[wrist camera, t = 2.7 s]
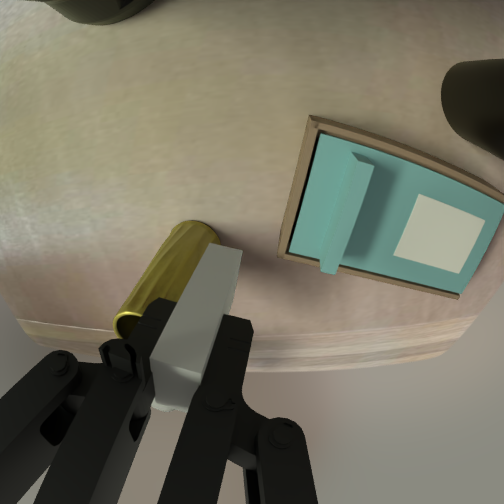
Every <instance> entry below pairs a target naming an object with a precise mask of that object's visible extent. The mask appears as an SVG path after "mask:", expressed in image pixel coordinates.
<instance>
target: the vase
mask: <svg viewBox="0 0 504 504" xmlns="http://www.w3.org/2000/svg"><path fill="white" fill-rule="evenodd" d="M209 243H213V244H217V245H221V243H220V240H219V238H218V236H217V235H216V233H215V232H214V231H213V230H212V229H211V228H210V227H208V226H207V225H205V224H203V223H201V222H197V221H185V222H182V223H180V224H178V225H177V226H175V227H174V228H173V229H172V231H171V233H170V236H169V237H168V238H167V239H166V240H165V242H164V243H163V244H162V246H161V247H160V249H159V250H158V252H157V254H156V255H155V257H154V258H153V260H152V261H151V263H150V264H149V266H148V267H147V269H146V271H145V272H144V274H143V275H142V277H141V278H140V280H139V281H138V283H137V284H136V286H135V287H134V289H133V290H132V292H131V294H130V295H129V297H128V298H127V300H126V301H125V302H124V304H123V305H122V307H121V308H120V310H119V311H118V313H117V314H116V316H115V317H114V320H113V329H114V332H115V334H116V335H117V337H118V338H120V339H126V340H127V339H128V338H129V336H130V334H131V333H132V331H133V329H134V328H135V326H136V324H138V321H139V319H140V318H141V316H142V315H143V313H144V311H145V309H146V308H147V306H148V305H149V304H150V303H151V302H153V301H154V300H156V299H157V298H158V297H160V298H164V299H167V300H171V301H174V302H178V301H179V299H180V297H181V295H182V293H183V291H184V289H185V287H186V286H187V284H188V282H189V280H190V278H191V276H192V274H193V272H194V271H195V269H196V267H197V265H198V263H199V261H200V259H201V258H202V256H203V254H204V252H205V250H206V248H207V247H208V245H209Z"/></svg>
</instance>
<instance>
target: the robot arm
mask: <svg viewBox="0 0 504 504" xmlns="http://www.w3.org/2000/svg"><path fill="white" fill-rule="evenodd" d="M27 1H40V2H45V3H46V4H47V5H49V6H50V7H52V8H53V9H55V10H56V11H58V12H59V13H60V14H62V15H63V16H65V17H66V18H68V19H69V20H71V21H74V22H77V23H82V24H89V25H107V24H112V23H116V22H119V21H121V20H124V19H126V18H128V17H130V16H132V15H134V14H136V13H138V12H139V11H141V10H142V9H144V8H145V7H147V6H148V5H149V4H151V3H152V2H153V1H154V0H27ZM242 253H243V250H238V249H234V248H230V247H226V246H221V245H217V244H213V243H209V245H208V247H207V248H206V250H205V252H204V254H203V256H202V258H201V259H200V261H199V263H198V265H197V267H196V269H195V271H194V272H193V274H192V276H191V278H190V280H189V282H188V284H187V286H186V287H185V289H184V291H183V293H182V295H181V297H180V299H179V301H178V302H174V301H171V300H167V299H164V298H160V297H158V298H157V299H156V300H154V301H153V302H151V303H150V304H149V305H148V306H147V308H146V309H145V311H144V313H143V315H142V316H141V318H140V319H139V321H138V324H136V326H135V328H134V329H133V331H132V333H131V334H130V336H129V338H128V339H127V340H126V339H120V338H119V339H111V340H109V341H107V342H105V343H103V344H102V345H101V346H100V347H99V348H98V349H99V352H100V355H101V359H102V362H103V363H86V362H78V361H77V359H76V358H75V356H74V355H73V354H72V353H70V352H68V351H64V350H57V351H53V352H51V353H50V354H48V355H47V356H46V357H44V358H43V359H42V360H41V361H40V362H39V363H38V364H37V365H36V366H34V367H33V368H32V369H31V370H30V371H29V372H28V373H27V374H26V375H25V376H24V377H23V378H22V379H21V380H19V381H18V382H17V383H16V384H15V385H14V386H13V387H12V388H11V389H10V390H9V391H8V392H7V393H6V394H5V395H4V396H3V397H2V398H1V399H0V504H17V502H18V501H19V500H20V499H21V498H22V497H23V496H24V494H25V493H26V492H27V491H28V490H29V489H30V487H31V486H32V485H33V484H34V483H35V482H36V481H37V479H38V478H39V477H40V476H41V475H42V474H43V473H44V471H45V470H46V469H47V468H48V467H49V466H50V467H49V469H48V472H47V474H46V476H45V478H44V480H43V483H42V485H41V487H40V489H39V492H38V494H37V496H36V499H35V501H34V503H33V504H117V502H118V499H119V497H120V494H121V491H122V488H123V486H124V483H125V481H126V478H127V475H128V473H129V470H130V467H131V465H132V462H133V460H134V457H135V454H136V452H137V449H138V447H139V444H140V441H141V439H142V436H143V434H144V431H145V429H146V426H147V424H148V421H149V419H150V415H151V409H150V407H151V404H152V402H153V400H154V397H155V402H156V403H157V404H160V405H163V406H166V407H169V408H173V409H176V410H179V411H182V412H186V413H187V415H186V418H185V421H184V424H183V427H182V430H181V433H180V436H179V439H178V442H177V445H176V448H175V451H174V454H173V457H172V460H171V463H170V466H169V469H168V472H167V475H166V478H165V481H164V485H163V488H162V491H161V494H160V497H159V500H158V503H157V504H217V500H218V496H219V492H220V488H221V483H222V479H223V474H224V471H225V466H226V462H227V459H228V460H230V461H232V462H234V463H235V464H237V465H239V466H241V467H243V476H244V487H245V497H246V504H318V501H317V495H316V490H315V485H314V480H313V475H312V470H311V465H310V460H309V455H308V450H307V445H306V440H305V435H304V433H303V431H302V428H301V427H300V426H299V425H297V423H296V422H294V421H292V420H290V419H288V418H280V417H277V418H273V419H268V418H266V417H264V416H262V415H260V414H258V413H256V412H255V411H254V410H252V409H251V408H250V407H249V406H248V405H247V404H246V402H245V401H244V399H243V396H242V385H243V380H244V376H245V371H246V366H247V362H248V357H249V352H250V347H251V342H252V337H253V333H254V331H253V328H252V324H251V321H250V320H247V319H243V318H239V317H235V316H231V315H229V311H230V308H231V305H232V302H233V299H234V294H235V289H236V284H237V278H238V273H239V268H240V263H241V258H242Z"/></svg>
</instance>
